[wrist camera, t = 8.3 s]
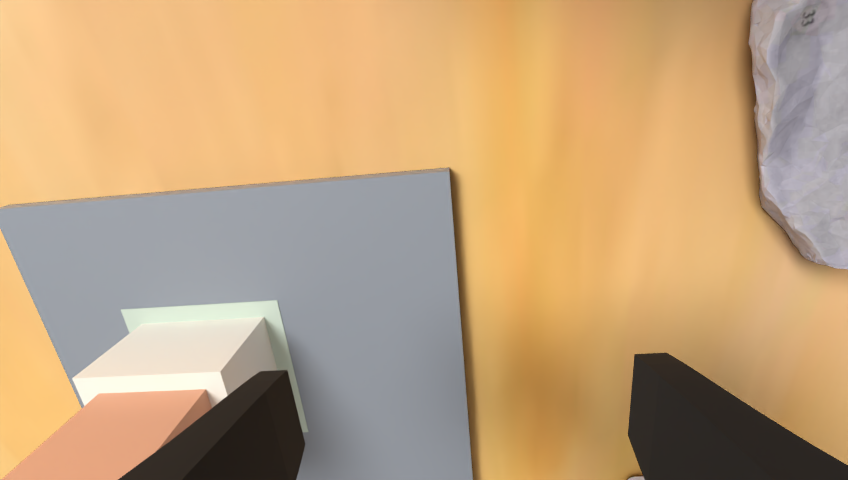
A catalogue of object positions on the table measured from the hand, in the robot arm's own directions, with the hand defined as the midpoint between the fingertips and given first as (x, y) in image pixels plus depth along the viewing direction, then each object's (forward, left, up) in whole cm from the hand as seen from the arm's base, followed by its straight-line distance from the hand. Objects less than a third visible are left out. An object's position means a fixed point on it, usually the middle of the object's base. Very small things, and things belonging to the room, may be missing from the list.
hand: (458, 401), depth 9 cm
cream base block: (-6, +12, -10) cm, 16 cm away
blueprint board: (-9, +10, -10) cm, 17 cm away
